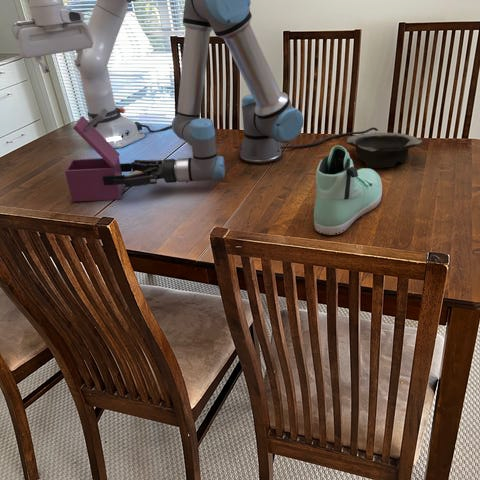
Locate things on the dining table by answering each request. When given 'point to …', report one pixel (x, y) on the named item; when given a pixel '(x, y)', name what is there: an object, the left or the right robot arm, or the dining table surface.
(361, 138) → the stone bowl
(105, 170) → the chest
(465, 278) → the dining table surface
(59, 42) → the left robot arm
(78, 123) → the lid
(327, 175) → the sneaker
